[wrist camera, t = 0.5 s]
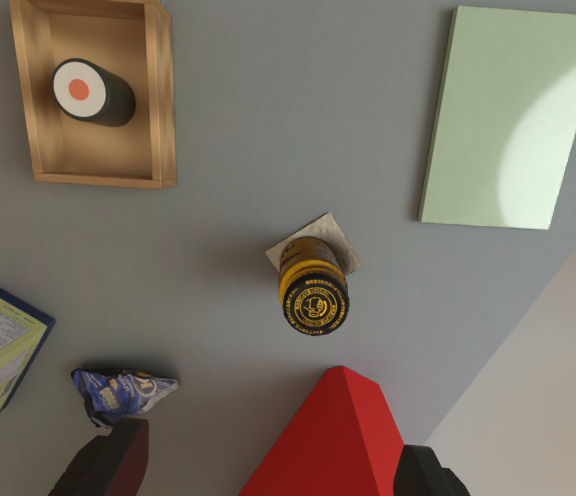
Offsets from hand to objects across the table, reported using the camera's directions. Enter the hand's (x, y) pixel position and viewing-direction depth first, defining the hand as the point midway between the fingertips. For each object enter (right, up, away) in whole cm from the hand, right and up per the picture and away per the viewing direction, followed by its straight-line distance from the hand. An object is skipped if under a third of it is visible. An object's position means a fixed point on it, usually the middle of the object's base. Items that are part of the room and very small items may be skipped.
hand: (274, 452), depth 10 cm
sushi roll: (-17, +21, +21) cm, 34 cm away
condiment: (+3, +5, +26) cm, 27 cm away
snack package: (-20, -11, +30) cm, 38 cm away
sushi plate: (+22, +19, +23) cm, 37 cm away
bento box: (-17, +21, +22) cm, 34 cm away
